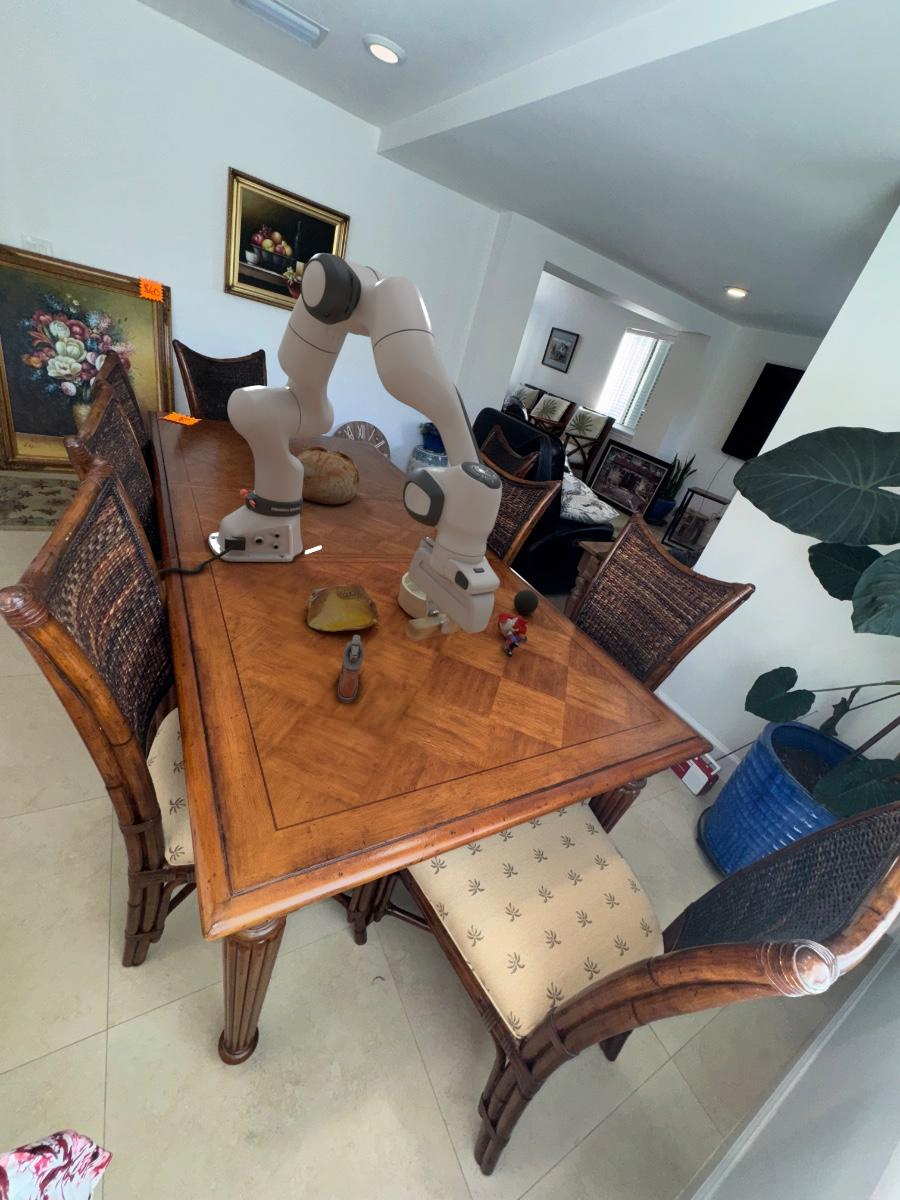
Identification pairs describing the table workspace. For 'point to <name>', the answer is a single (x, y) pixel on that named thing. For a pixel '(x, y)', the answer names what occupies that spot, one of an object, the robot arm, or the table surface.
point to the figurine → (512, 630)
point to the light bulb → (526, 601)
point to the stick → (428, 627)
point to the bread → (328, 476)
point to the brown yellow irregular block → (341, 608)
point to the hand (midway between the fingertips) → (437, 624)
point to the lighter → (350, 670)
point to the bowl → (413, 599)
